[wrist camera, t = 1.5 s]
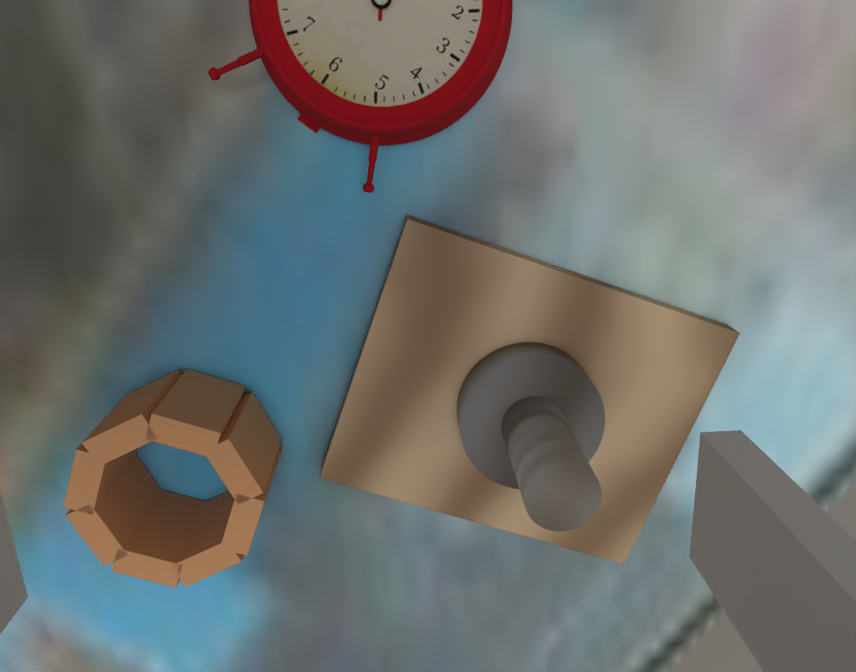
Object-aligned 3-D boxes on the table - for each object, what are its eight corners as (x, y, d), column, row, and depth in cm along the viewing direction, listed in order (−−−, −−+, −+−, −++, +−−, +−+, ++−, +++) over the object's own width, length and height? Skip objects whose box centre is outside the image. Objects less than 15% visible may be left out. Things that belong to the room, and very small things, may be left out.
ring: (99, 494, 35) (52, 556, 30) (133, 352, 33) (88, 395, 28) (254, 535, 36) (232, 602, 31) (296, 401, 34) (280, 450, 29)
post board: (322, 465, 35) (296, 586, 26) (407, 214, 31) (410, 258, 23) (616, 550, 37) (683, 687, 29) (728, 325, 34) (844, 404, 25)
